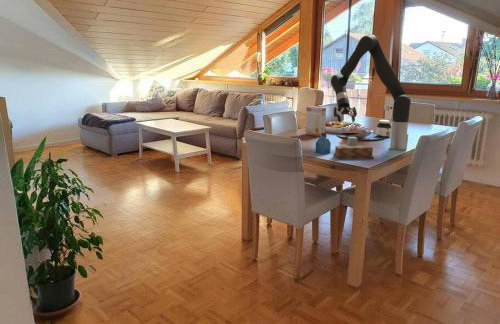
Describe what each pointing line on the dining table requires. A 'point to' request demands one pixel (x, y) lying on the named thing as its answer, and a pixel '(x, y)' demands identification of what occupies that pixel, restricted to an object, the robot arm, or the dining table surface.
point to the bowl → (335, 126)
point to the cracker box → (315, 120)
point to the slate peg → (352, 141)
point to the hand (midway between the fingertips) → (346, 121)
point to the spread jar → (383, 128)
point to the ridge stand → (353, 152)
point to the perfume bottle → (323, 145)
